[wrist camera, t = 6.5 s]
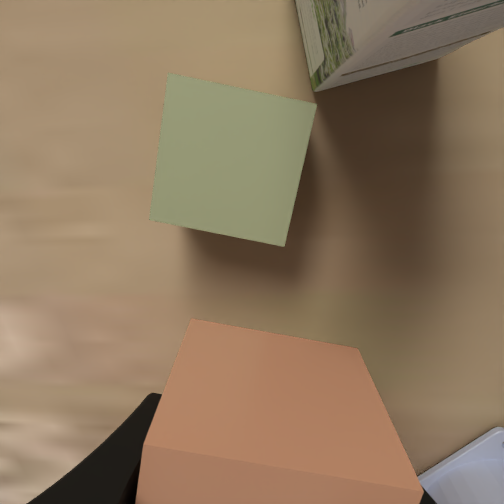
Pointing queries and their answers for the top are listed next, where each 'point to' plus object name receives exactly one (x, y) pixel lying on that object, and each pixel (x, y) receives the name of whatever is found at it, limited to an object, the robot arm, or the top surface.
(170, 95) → the olive block
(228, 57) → the top surface
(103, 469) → the robot arm
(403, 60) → the syrup box
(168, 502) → the terracotta block
